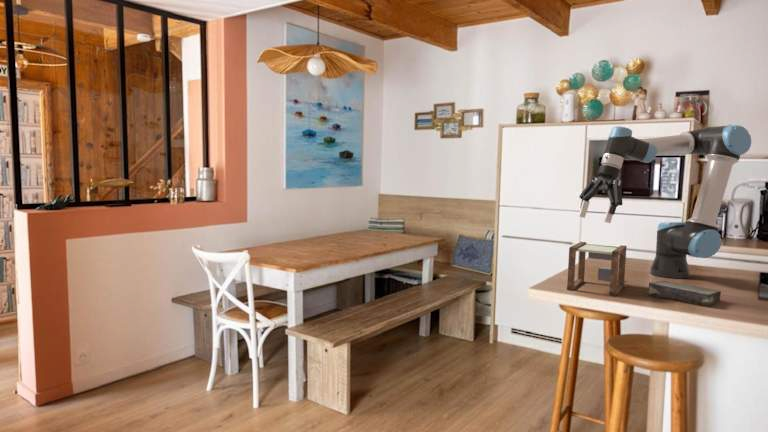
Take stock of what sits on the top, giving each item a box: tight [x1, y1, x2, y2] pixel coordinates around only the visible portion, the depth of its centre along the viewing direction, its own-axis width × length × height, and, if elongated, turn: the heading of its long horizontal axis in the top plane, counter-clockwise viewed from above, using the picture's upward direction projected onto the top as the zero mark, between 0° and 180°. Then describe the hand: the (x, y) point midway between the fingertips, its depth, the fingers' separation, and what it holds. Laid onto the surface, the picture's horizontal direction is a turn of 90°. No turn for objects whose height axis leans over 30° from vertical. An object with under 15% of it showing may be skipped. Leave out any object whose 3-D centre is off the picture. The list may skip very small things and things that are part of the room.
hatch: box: [576, 243, 619, 261], centre depth 202 cm, size 12×21×6 cm, turn 147°
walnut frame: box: [566, 241, 627, 297], centre depth 200 cm, size 17×19×16 cm
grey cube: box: [597, 266, 611, 282], centre depth 216 cm, size 5×5×5 cm
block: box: [648, 280, 722, 308], centre depth 187 cm, size 14×20×5 cm
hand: (593, 219), depth 204 cm, fingers open, 13 cm apart
